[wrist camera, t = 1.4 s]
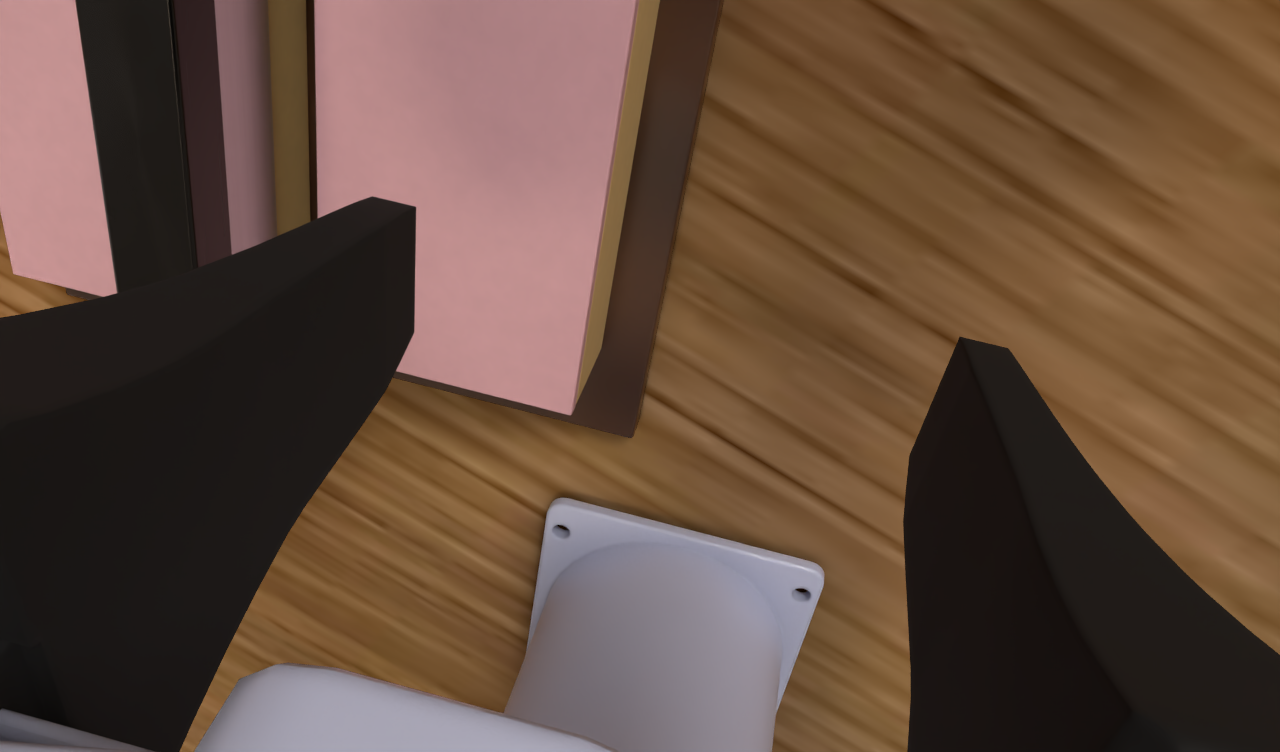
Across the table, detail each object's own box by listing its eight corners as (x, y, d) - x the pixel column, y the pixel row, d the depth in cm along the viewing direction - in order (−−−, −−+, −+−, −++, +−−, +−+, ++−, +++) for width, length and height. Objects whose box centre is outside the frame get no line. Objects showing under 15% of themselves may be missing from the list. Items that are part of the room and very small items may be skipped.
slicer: (638, 422, 27) (570, 616, 21) (84, 282, 29) (-126, 428, 23) (808, -414, 17) (769, -486, 11) (-56, -577, 19) (-496, -718, 13)
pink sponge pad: (601, 349, 25) (571, 416, 23) (93, 222, 26) (12, 274, 24) (704, -257, 18) (675, -254, 16) (0, -399, 19) (-131, -417, 17)
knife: (310, 380, 23) (216, 488, 20) (244, 363, 23) (139, 468, 20) (294, -370, 16) (135, -394, 12) (195, -389, 16) (11, -419, 12)
